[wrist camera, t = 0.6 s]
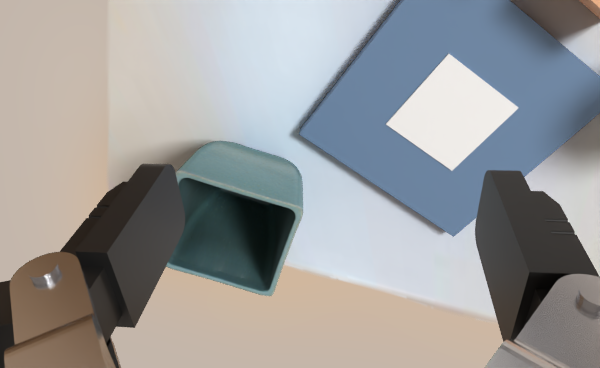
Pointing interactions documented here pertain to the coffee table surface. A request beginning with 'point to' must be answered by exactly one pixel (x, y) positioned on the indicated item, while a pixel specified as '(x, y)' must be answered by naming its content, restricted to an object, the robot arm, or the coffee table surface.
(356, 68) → the board
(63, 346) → the robot arm
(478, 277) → the coffee table surface
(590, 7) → the terracotta block
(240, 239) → the flower pot
